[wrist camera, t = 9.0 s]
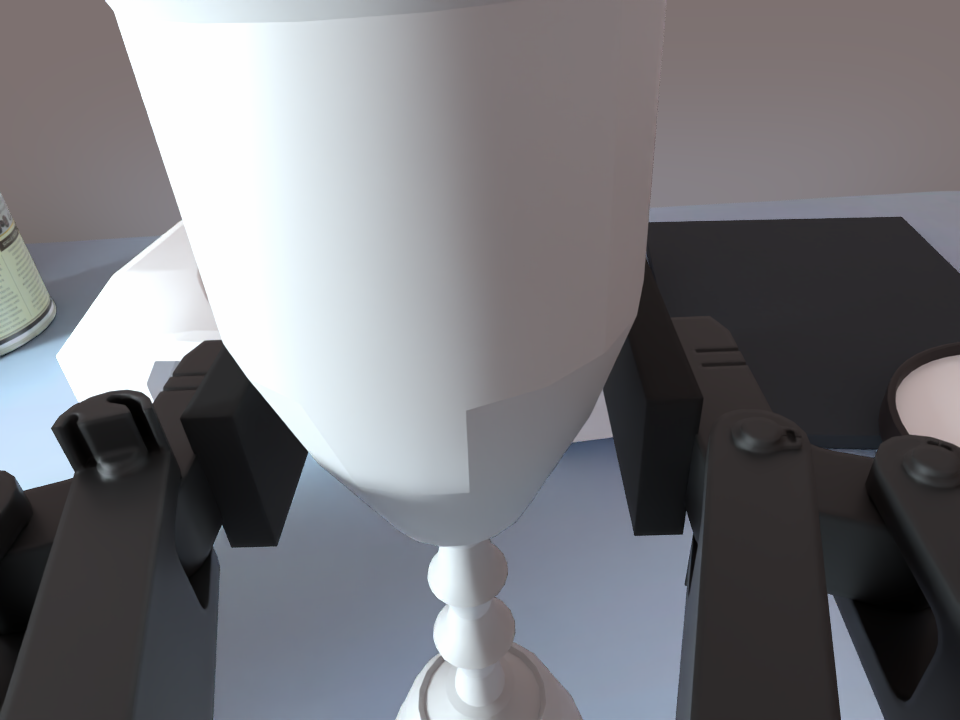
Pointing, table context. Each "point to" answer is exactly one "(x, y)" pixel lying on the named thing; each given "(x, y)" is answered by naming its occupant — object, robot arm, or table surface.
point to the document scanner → (166, 328)
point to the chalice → (419, 257)
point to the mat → (814, 308)
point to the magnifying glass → (924, 396)
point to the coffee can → (19, 289)
